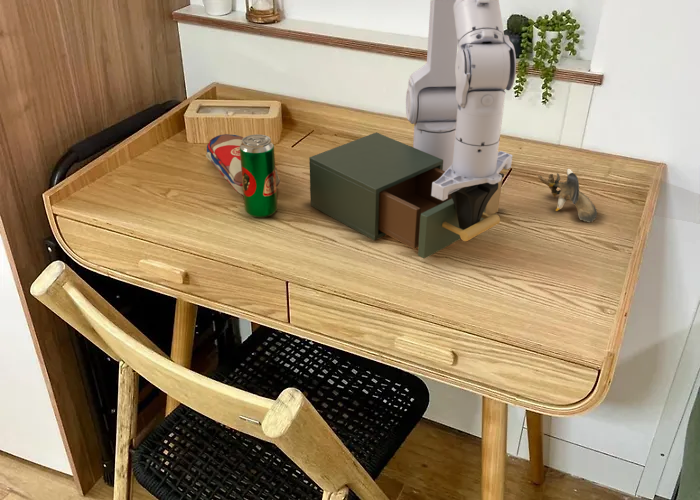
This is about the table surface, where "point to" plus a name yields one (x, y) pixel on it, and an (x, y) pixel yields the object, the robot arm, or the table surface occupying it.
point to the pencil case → (229, 159)
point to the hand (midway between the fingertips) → (467, 228)
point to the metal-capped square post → (494, 200)
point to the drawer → (424, 216)
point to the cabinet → (363, 178)
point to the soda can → (258, 175)
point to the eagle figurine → (571, 195)
